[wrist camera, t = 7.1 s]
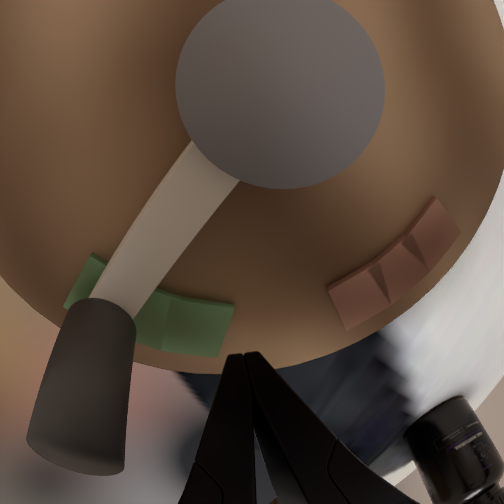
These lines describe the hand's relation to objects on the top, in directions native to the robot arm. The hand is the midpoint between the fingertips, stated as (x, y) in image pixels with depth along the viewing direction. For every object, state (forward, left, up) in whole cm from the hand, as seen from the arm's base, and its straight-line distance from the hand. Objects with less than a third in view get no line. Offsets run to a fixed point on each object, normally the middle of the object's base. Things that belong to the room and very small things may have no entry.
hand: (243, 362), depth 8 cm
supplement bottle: (-6, +24, -3) cm, 25 cm away
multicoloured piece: (-1, -4, -2) cm, 5 cm away
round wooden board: (-4, -5, -3) cm, 7 cm away
